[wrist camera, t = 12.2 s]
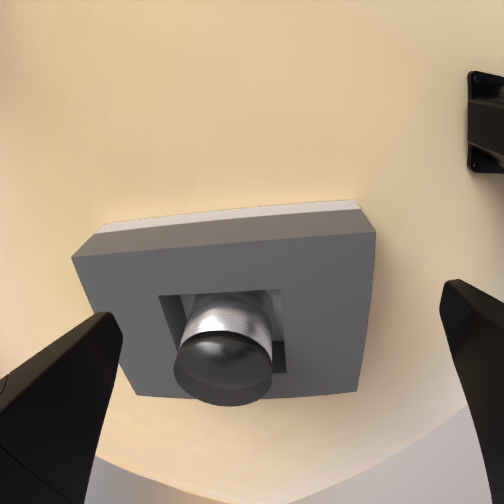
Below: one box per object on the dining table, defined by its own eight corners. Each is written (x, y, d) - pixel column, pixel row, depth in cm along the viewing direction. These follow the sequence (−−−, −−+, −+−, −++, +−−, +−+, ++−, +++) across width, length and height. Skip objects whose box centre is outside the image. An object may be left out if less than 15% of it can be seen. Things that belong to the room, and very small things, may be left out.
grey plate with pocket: (354, 199, 18) (376, 231, 14) (346, 347, 24) (356, 391, 20) (104, 224, 20) (71, 257, 16) (152, 354, 26) (136, 395, 22)
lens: (267, 270, 19) (267, 341, 14) (275, 333, 22) (275, 404, 16) (186, 277, 20) (160, 345, 14) (203, 337, 22) (187, 405, 17)
